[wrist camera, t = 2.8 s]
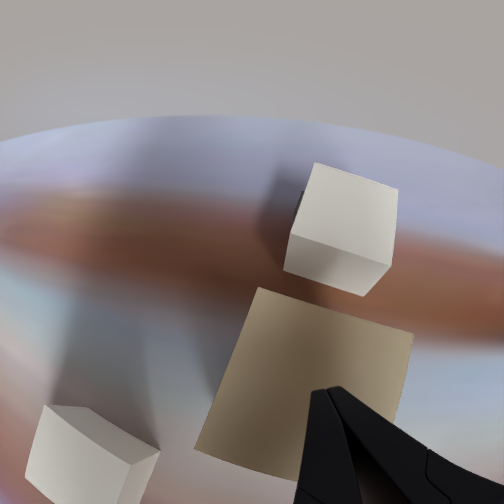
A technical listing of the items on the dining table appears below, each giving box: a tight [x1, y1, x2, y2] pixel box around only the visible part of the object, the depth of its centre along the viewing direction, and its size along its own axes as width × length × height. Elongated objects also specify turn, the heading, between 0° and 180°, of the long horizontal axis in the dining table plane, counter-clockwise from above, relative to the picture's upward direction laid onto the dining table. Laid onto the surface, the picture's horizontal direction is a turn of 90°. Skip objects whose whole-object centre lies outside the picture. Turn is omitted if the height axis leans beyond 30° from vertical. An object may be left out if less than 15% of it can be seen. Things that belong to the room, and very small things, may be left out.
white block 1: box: [25, 404, 161, 504], centre depth 11 cm, size 6×6×5 cm
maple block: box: [194, 287, 414, 482], centre depth 12 cm, size 6×6×9 cm
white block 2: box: [283, 162, 398, 297], centre depth 19 cm, size 6×6×5 cm
